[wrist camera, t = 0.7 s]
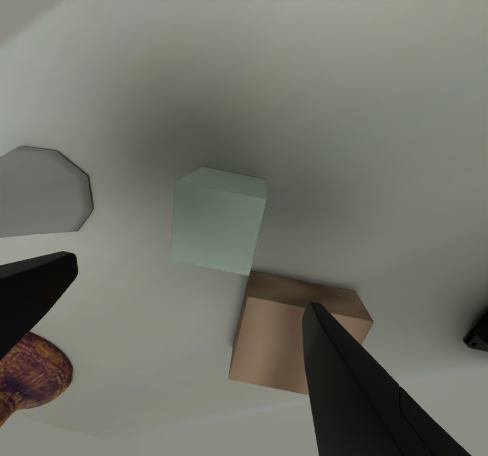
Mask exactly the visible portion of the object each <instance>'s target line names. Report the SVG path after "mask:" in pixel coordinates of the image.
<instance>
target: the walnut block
mask: <svg viewBox="0 0 488 456" xmlns="http://www.w3.org/2000/svg"><path fill="white" fill-rule="evenodd" d="M309 301H315V302H319V303H321V304H322V305H323V306H324V307H325V308H326V309H327V310H328V311H329V312H330V313H331V314H332V315H333V316H334V317H335V319H336V320H337V321H338V322H339V323H340V324H341V325H342V326H343V327H344V328H345V329H346V330H347V331H348V332H349V333H350V334H351V335H352V336H353V337H354V338H355V339H356V340H357V341H358V342H359V343H360V345H361V344H362V342H363V341H364V339H365V337H366V335H367V333H368V331H369V330H370V328H371V326H372V324H373V322H374V321H373V320H372V318H371V316H370V315H369V313H368V311H367V310H366V308H365V306H364V305H363V303H362V301H361V300H360V298H359V296H358V294H357V293H356V292H354V291H349V290H344V289H339V288H334V287H329V286H324V285H319V284H314V283H309V282H304V281H299V280H294V279H289V278H284V277H279V276H274V275H269V274H264V273H259V272H254V271H250V275H249V279H248V284H247V288H246V292H245V296H244V301H243V305H242V309H241V314H240V318H239V322H238V327H237V331H236V335H235V339H234V344H233V350H232V357H231V364H230V371H229V378H228V379H231V380H236V381H241V382H246V383H251V384H256V385H261V386H266V387H271V388H276V389H281V390H286V391H291V392H296V393H301V394H306V395H309V391H308V385H307V379H306V373H305V366H304V355H303V337H302V317H303V314H304V311H305V309H306V306H307V304H308V302H309Z"/></svg>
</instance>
